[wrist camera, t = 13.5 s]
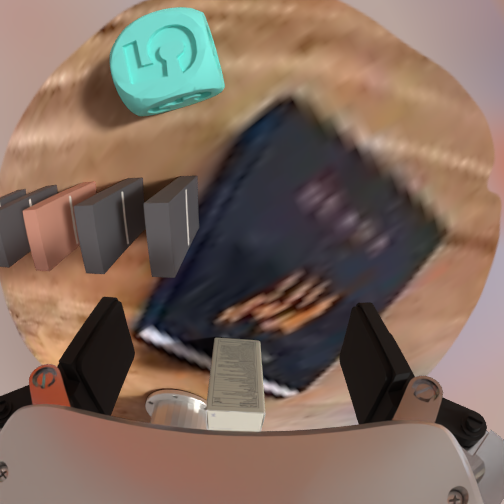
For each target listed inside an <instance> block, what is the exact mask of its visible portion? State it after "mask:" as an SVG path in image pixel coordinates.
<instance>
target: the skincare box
mask: <svg viewBox="0 0 504 504" xmlns="http://www.w3.org/2000/svg"><path fill="white" fill-rule="evenodd" d="M264 418H265V403H264V389H263V375H262V362H261V348H260V341H257V340H244V339H230V338H214V346H213V354H212V362H211V370H210V379H209V388H208V396H207V406H206V424H207V429H208V430H220V431H251V432H261V429H262V425H263V422H264Z"/></svg>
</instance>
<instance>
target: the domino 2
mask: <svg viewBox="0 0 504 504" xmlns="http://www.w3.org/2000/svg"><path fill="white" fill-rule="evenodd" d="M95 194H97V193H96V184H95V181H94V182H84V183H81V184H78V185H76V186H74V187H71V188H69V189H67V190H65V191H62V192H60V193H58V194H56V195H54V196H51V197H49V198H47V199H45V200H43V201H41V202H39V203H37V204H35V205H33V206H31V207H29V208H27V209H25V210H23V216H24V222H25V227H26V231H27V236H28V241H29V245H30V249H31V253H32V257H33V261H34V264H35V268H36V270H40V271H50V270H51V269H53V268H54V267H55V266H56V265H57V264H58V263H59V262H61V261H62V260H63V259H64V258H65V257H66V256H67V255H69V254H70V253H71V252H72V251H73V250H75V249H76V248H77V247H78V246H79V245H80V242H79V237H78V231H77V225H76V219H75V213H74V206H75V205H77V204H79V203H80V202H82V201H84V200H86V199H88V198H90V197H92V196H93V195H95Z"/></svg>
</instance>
